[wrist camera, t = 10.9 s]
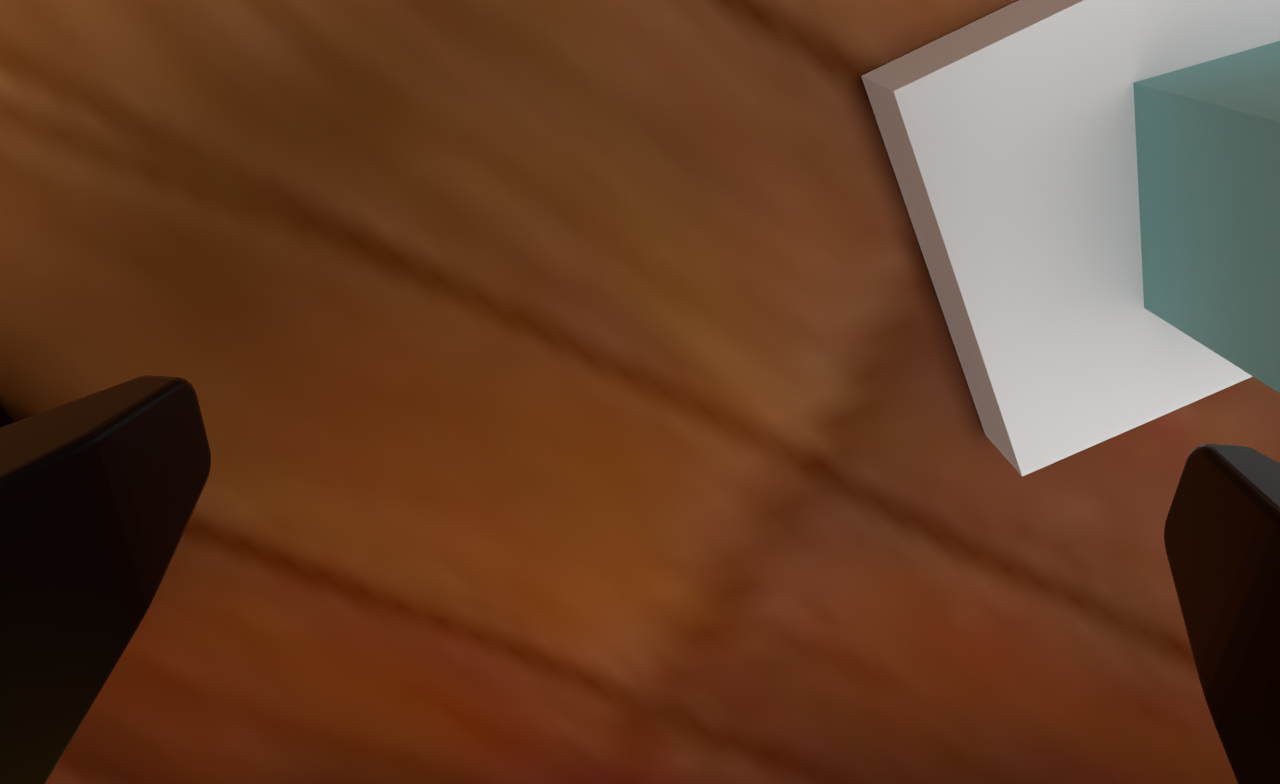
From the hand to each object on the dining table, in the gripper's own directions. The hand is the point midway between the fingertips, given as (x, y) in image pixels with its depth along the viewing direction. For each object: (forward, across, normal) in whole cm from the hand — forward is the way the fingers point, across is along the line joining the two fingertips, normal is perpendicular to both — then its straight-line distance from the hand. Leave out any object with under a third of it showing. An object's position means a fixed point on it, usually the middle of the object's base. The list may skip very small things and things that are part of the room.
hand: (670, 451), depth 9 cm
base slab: (+15, -10, +1) cm, 18 cm away
